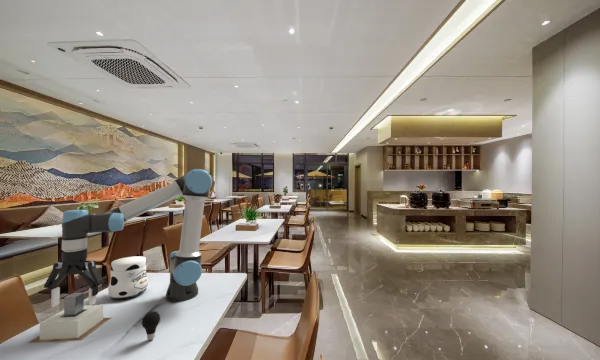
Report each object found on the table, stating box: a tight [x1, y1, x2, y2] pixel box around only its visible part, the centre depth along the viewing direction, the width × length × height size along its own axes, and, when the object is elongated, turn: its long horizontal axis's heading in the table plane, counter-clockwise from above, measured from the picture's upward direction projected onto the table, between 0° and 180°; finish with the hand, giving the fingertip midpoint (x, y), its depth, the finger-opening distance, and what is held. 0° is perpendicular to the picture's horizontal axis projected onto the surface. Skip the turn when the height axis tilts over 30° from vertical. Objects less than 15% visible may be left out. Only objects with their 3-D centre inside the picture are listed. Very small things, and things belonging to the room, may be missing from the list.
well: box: [39, 304, 104, 340], centre depth 98 cm, size 13×13×6 cm
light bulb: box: [141, 310, 161, 341], centre depth 92 cm, size 6×6×10 cm
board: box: [27, 317, 113, 344], centre depth 98 cm, size 18×16×1 cm
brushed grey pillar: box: [63, 292, 85, 317], centre depth 98 cm, size 4×4×12 cm
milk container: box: [107, 255, 149, 300], centre depth 133 cm, size 17×17×18 cm
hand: (73, 304), depth 98 cm, fingers open, 13 cm apart
